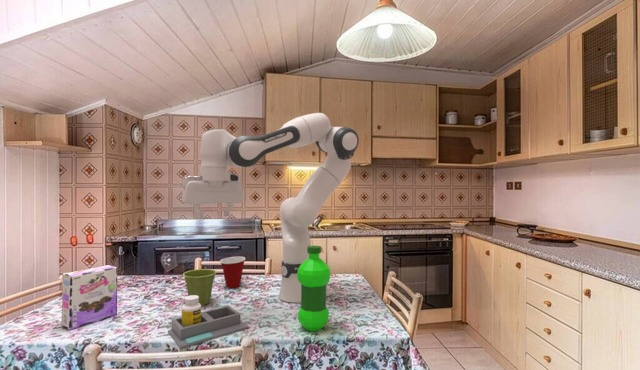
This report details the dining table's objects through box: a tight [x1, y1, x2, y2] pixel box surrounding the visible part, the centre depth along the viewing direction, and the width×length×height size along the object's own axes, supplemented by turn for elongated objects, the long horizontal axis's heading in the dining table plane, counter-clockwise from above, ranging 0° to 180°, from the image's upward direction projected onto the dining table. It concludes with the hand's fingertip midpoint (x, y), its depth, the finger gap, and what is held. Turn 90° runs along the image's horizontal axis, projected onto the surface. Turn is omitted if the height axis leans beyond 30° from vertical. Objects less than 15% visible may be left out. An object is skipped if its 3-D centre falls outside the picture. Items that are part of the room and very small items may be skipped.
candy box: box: [61, 264, 118, 330], centre depth 106 cm, size 14×6×16 cm, turn 148°
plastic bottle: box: [297, 245, 331, 332], centre depth 102 cm, size 10×10×25 cm
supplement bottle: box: [181, 295, 202, 327], centre depth 98 cm, size 5×5×10 cm
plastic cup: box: [219, 256, 246, 289], centre depth 142 cm, size 11×11×12 cm
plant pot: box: [182, 268, 218, 306], centre depth 122 cm, size 12×12×11 cm
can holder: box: [167, 305, 250, 349], centre depth 99 cm, size 20×12×4 cm, turn 130°
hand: (213, 216), depth 112 cm, fingers open, 8 cm apart
